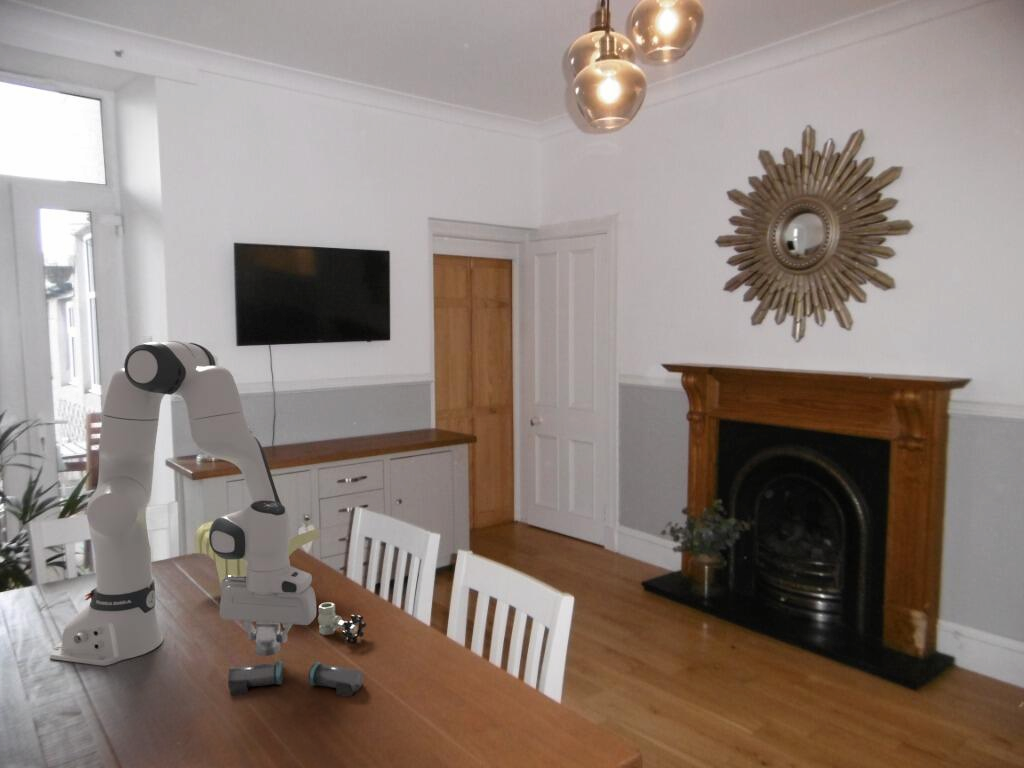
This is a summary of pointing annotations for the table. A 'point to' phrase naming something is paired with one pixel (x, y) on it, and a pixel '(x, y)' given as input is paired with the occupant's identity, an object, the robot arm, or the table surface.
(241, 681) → the grey pipe fitting
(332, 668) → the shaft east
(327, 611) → the valve
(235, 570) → the slatted curved stool
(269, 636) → the coupler
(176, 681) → the table surface
